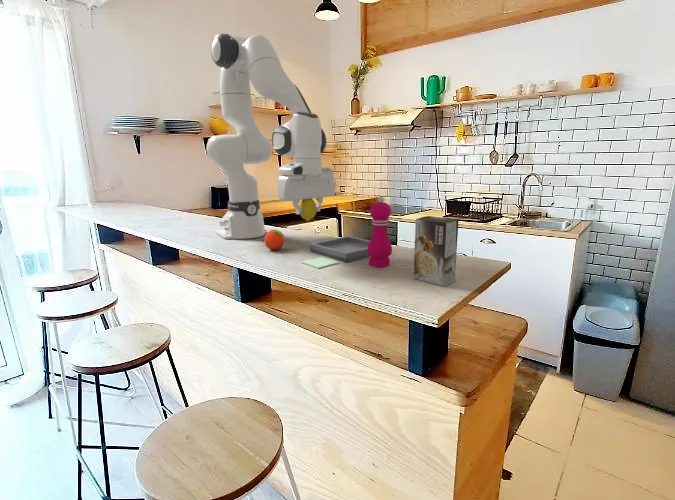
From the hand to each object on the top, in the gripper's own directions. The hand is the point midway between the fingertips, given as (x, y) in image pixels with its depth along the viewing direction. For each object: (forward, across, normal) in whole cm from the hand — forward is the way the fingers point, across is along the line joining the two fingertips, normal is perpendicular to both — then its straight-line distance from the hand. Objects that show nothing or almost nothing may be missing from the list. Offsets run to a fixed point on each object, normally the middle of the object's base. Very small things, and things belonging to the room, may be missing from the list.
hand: (308, 212), depth 119 cm
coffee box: (+13, -9, +42) cm, 45 cm away
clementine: (+14, +4, -13) cm, 20 cm away
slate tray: (+14, -12, +6) cm, 19 cm away
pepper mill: (+14, -9, +23) cm, 28 cm away
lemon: (+3, 0, 0) cm, 3 cm away
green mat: (+14, +3, +10) cm, 17 cm away
